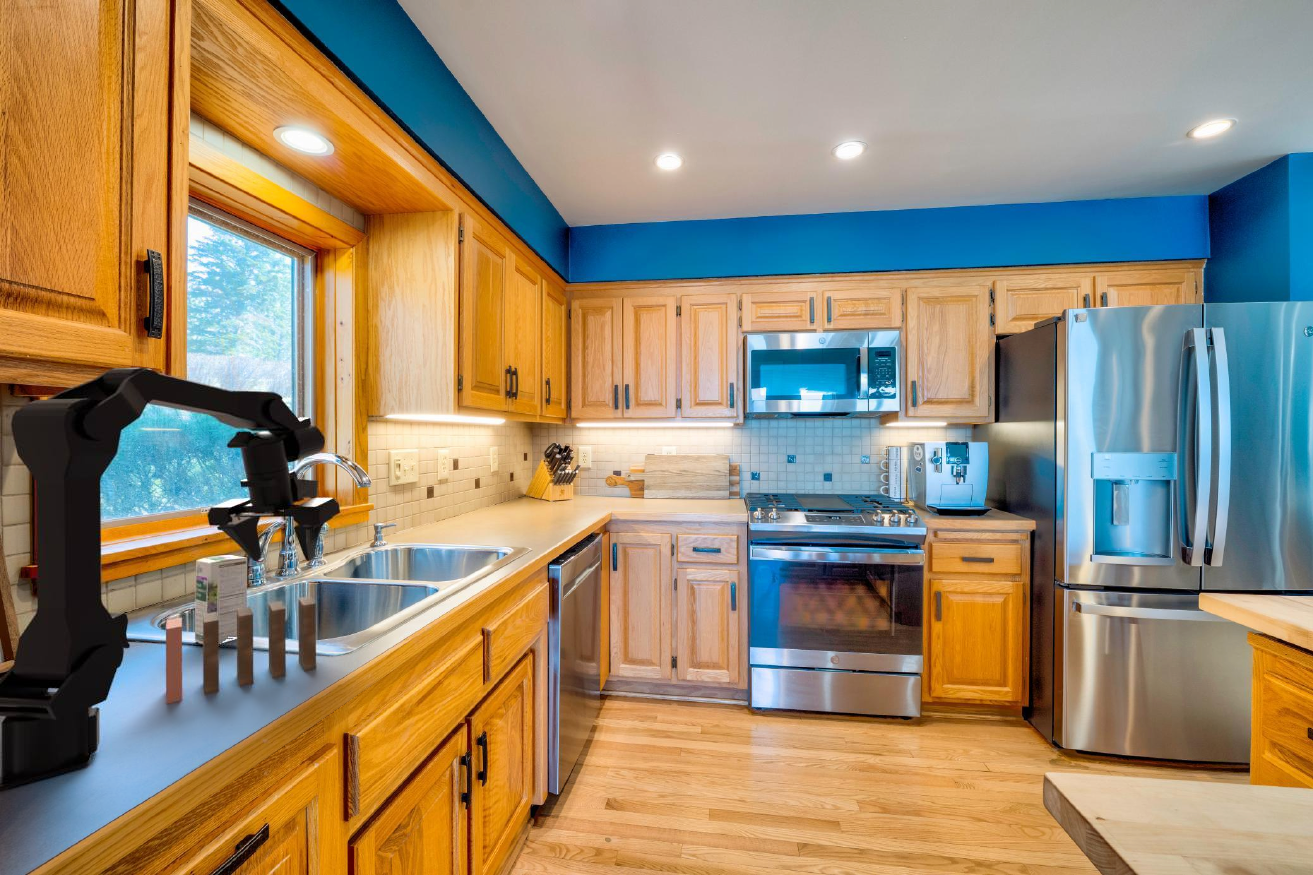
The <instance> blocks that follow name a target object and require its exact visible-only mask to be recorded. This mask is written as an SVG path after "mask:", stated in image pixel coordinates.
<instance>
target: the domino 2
mask: <svg viewBox="0 0 1313 875" xmlns="http://www.w3.org/2000/svg"><path fill="white" fill-rule="evenodd" d="M219 649H220V645H219V619H218V614H217V612H212V613H206V614H203V644H202V680H203V681H202V686H203V688H202V689H203V695H204V696H205V695H209V694H215V693H218V692H220V669H219V668H220V666H219V664H220V663H219V662H220V661H219V660H220V659H219V658H220V654H219V653H220V650H219Z"/></svg>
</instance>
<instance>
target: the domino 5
mask: <svg viewBox="0 0 1313 875" xmlns="http://www.w3.org/2000/svg"><path fill="white" fill-rule="evenodd" d="M297 601H298V608H297V609H298V610H297V611H298V612H297V613H298V662H299V665H300V667H301V669H302V670H303V672H306V671H310V670H314V669H317V629H316V628H317V603H316V602H315V600H314V599H313V598H312V597H311V596H305V597H299V598H298V600H297Z"/></svg>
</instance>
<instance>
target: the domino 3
mask: <svg viewBox="0 0 1313 875" xmlns="http://www.w3.org/2000/svg"><path fill="white" fill-rule="evenodd" d="M236 678H237V682H238V686H239V687H240V688H241V687H244V686H247V685H251V684H252V685H253V684H254V613H253V610H252V608H251V606H247V607H243V608H237V640H236Z"/></svg>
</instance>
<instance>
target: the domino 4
mask: <svg viewBox="0 0 1313 875" xmlns="http://www.w3.org/2000/svg"><path fill="white" fill-rule="evenodd" d="M286 618H287V617H286V607H285V605H284V604H283V602H282V601H281V600H279V601H275V602H274V601H273V602H269V603H268V671H269V672H270V675H271V678H272V679H277V678H282V677H285V676H287V673H286V672H287V671H286V670H287V669H286V668H287V667H286V666H287V665H286V663H287V662H286V660H287V659H286V658H287V657H286V656H287V655H286V654H287V653H286V652H287V651H286V649H287V648H286V642H287V641H286V640H287V639H286V638H287V637H286V633H287V632H286V631H287V630H286V628H287V627H286V623H287V622H286V621H287V620H286Z"/></svg>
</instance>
